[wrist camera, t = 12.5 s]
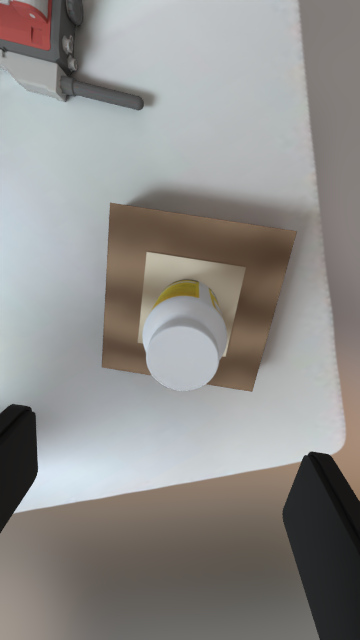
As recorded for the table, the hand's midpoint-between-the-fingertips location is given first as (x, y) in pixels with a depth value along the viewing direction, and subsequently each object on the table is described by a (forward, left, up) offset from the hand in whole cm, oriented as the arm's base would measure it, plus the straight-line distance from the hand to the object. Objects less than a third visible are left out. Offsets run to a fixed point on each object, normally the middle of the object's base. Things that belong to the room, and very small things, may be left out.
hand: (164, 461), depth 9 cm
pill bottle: (0, 0, -19) cm, 19 cm away
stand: (0, 0, -23) cm, 23 cm away
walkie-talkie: (+23, +17, -24) cm, 37 cm away
